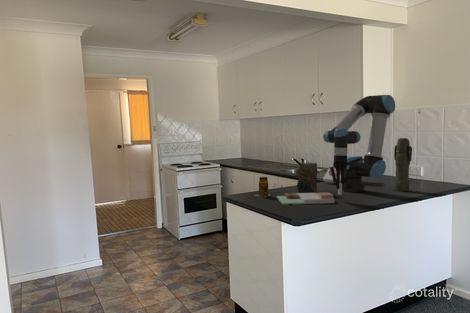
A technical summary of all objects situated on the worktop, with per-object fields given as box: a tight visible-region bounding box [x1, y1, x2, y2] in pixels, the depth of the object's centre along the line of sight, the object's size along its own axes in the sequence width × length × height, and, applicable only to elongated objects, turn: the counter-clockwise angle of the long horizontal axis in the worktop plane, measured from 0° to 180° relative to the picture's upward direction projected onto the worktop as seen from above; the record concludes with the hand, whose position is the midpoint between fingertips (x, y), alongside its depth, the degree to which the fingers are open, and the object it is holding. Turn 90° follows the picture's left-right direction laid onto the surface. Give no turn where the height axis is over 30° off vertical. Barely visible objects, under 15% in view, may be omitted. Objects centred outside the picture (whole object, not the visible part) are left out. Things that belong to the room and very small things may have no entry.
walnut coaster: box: [284, 192, 299, 199], centre depth 214 cm, size 7×7×2 cm
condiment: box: [254, 176, 271, 198], centre depth 225 cm, size 7×8×12 cm
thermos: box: [393, 137, 413, 192], centre depth 234 cm, size 9×12×35 cm
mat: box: [276, 195, 305, 206], centre depth 210 cm, size 12×19×1 cm, turn 4°
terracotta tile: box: [317, 192, 334, 199], centre depth 206 cm, size 7×7×2 cm
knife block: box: [296, 161, 318, 193], centre depth 231 cm, size 13×13×20 cm
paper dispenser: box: [322, 161, 341, 184], centre depth 268 cm, size 19×30×18 cm, turn 131°
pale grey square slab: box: [296, 191, 336, 205], centre depth 211 cm, size 18×18×2 cm
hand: (339, 194), depth 207 cm, fingers closed
